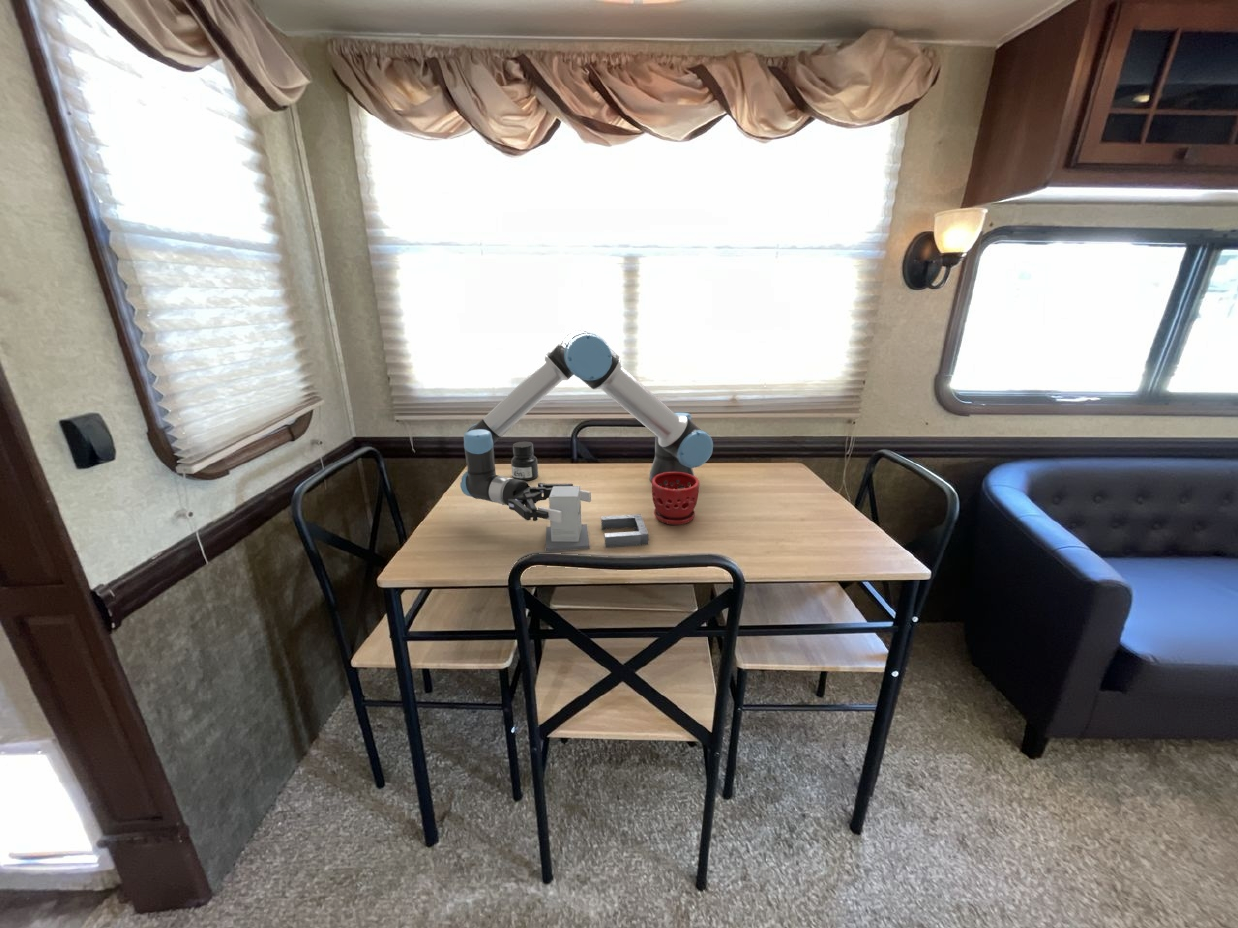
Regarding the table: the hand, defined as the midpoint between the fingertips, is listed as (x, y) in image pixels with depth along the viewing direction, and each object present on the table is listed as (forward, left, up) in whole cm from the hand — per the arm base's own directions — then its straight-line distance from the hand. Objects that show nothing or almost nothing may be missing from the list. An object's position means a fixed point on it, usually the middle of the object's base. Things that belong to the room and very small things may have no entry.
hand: (576, 506), depth 124 cm
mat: (+3, -2, -10) cm, 11 cm away
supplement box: (+3, -2, -9) cm, 10 cm away
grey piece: (-12, -2, -10) cm, 16 cm away
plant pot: (-28, -10, -10) cm, 31 cm away
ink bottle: (+16, -50, -10) cm, 53 cm away
